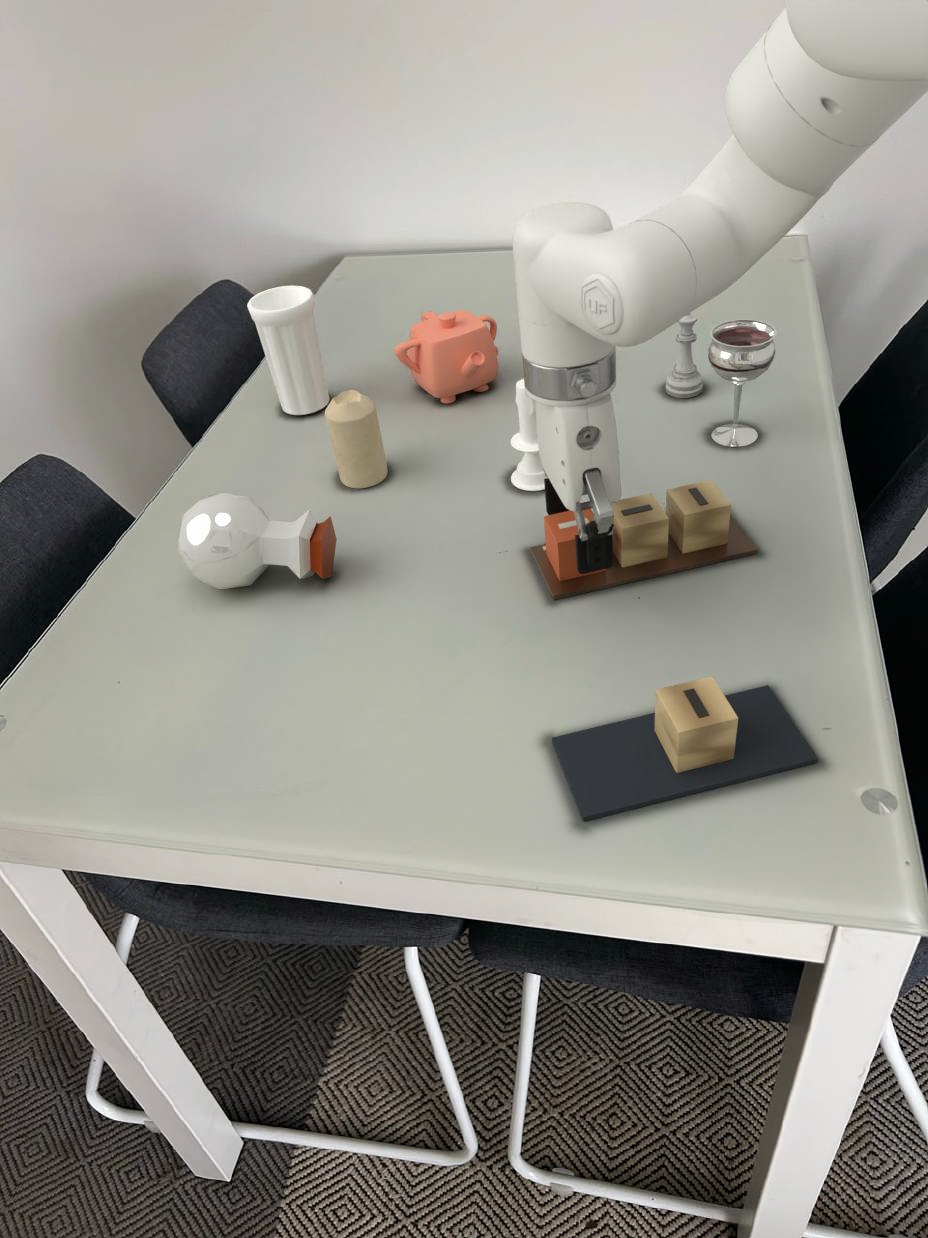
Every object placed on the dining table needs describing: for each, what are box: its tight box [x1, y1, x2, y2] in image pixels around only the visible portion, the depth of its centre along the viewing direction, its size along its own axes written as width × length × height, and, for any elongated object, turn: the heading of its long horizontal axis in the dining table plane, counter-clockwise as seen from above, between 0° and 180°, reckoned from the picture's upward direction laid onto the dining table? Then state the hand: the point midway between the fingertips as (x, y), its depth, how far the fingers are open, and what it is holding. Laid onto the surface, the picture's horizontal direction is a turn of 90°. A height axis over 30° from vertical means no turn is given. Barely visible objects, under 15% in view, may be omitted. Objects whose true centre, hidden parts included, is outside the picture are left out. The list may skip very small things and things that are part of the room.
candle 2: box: [510, 378, 548, 492], centre depth 98 cm, size 5×5×12 cm
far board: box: [529, 514, 759, 600], centre depth 90 cm, size 20×8×1 cm, turn 102°
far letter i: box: [610, 492, 669, 567], centre depth 88 cm, size 4×4×5 cm
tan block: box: [654, 675, 738, 773], centre depth 69 cm, size 4×4×5 cm
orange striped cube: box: [543, 509, 605, 581], centre depth 88 cm, size 4×4×5 cm
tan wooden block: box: [665, 479, 732, 554], centre depth 89 cm, size 4×4×5 cm
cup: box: [246, 284, 330, 416], centre depth 116 cm, size 8×8×14 cm
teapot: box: [394, 309, 499, 404], centre depth 117 cm, size 12×12×10 cm
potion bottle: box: [175, 492, 338, 590], centre depth 91 cm, size 9×10×15 cm
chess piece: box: [665, 313, 704, 399], centre depth 110 cm, size 4×4×10 cm
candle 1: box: [324, 389, 389, 489], centre depth 103 cm, size 6×6×10 cm
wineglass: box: [707, 318, 778, 448], centre depth 100 cm, size 7×7×12 cm
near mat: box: [551, 684, 819, 822], centre depth 71 cm, size 18×8×1 cm, turn 102°
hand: (578, 539), depth 87 cm, fingers open, 9 cm apart
